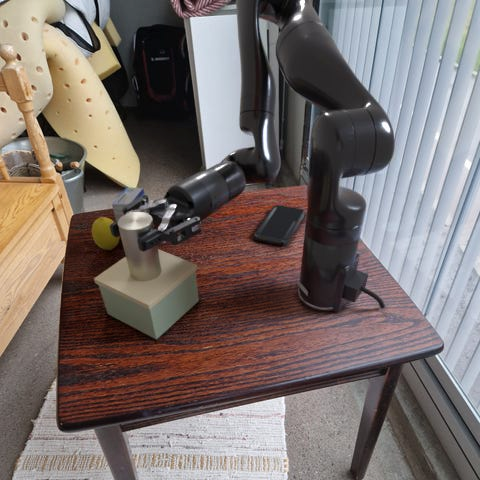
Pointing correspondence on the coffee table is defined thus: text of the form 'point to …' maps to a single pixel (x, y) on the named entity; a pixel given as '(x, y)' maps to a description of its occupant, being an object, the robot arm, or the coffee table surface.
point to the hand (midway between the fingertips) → (126, 238)
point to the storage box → (150, 294)
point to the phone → (279, 225)
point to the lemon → (104, 234)
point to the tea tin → (138, 261)
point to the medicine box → (126, 200)
